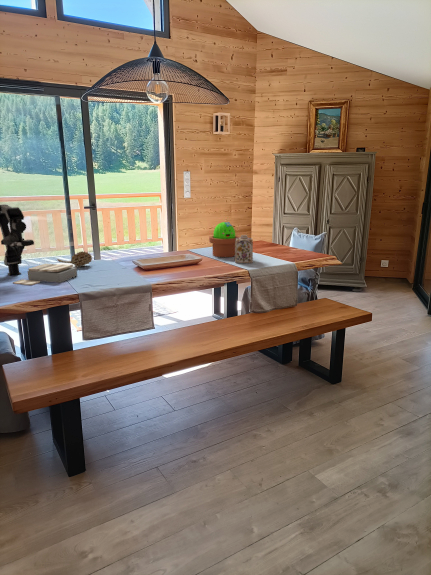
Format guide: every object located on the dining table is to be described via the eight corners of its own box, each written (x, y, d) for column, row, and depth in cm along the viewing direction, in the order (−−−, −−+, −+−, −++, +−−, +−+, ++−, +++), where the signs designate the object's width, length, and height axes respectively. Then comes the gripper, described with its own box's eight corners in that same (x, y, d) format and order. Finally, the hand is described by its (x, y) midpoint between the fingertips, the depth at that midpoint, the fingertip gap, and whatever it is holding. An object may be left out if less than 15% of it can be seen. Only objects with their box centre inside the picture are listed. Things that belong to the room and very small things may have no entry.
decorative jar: (252, 263, 279) (253, 236, 274) (235, 263, 280) (235, 236, 275) (251, 259, 291) (252, 234, 286) (234, 259, 291) (235, 234, 286)
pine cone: (92, 264, 280) (90, 249, 277) (93, 267, 271) (92, 252, 268) (57, 266, 272) (55, 251, 269) (57, 270, 263) (55, 254, 261)
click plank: (38, 271, 237) (38, 269, 237) (55, 266, 250) (54, 264, 250) (57, 271, 233) (57, 269, 233) (73, 266, 246) (72, 264, 246)
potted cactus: (206, 253, 313) (205, 220, 306) (233, 251, 320) (233, 219, 313) (214, 259, 293) (214, 223, 286) (243, 257, 299) (244, 222, 293)
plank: (13, 284, 232) (12, 282, 232) (22, 281, 239) (22, 279, 239) (31, 286, 228) (31, 284, 228) (40, 283, 235) (40, 281, 234)
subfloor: (28, 279, 240) (27, 268, 238) (47, 273, 255) (46, 263, 253) (59, 282, 233) (58, 271, 232) (77, 275, 248) (76, 265, 246)
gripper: (-9, 231, 230) (-5, 258, 234) (18, 232, 224) (22, 260, 228) (6, 228, 240) (10, 255, 244) (33, 229, 234) (36, 257, 238)
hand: (19, 257), depth 238 cm, fingers closed
